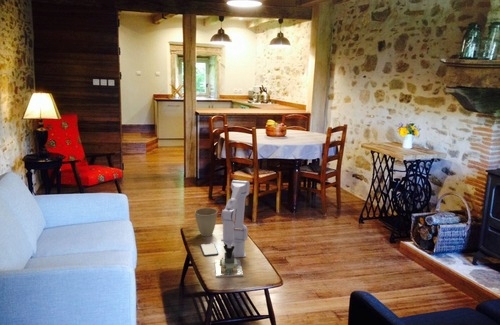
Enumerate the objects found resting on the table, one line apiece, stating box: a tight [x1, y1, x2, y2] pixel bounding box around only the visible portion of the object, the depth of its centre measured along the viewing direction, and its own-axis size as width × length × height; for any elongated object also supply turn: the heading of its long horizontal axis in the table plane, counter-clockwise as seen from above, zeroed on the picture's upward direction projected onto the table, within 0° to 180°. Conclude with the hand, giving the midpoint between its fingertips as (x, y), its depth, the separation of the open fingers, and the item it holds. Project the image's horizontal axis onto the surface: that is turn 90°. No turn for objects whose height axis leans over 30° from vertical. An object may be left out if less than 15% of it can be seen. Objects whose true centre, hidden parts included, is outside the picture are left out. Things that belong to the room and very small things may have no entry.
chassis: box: [214, 257, 244, 278], centre depth 226 cm, size 18×14×4 cm
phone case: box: [200, 242, 219, 257], centre depth 250 cm, size 9×2×16 cm
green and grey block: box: [221, 252, 238, 269], centre depth 225 cm, size 11×8×6 cm
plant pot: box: [194, 207, 219, 237], centre depth 274 cm, size 15×15×16 cm
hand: (228, 255), depth 224 cm, fingers open, 7 cm apart
